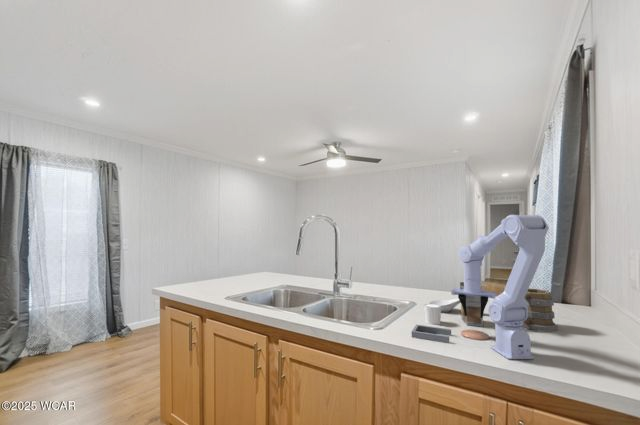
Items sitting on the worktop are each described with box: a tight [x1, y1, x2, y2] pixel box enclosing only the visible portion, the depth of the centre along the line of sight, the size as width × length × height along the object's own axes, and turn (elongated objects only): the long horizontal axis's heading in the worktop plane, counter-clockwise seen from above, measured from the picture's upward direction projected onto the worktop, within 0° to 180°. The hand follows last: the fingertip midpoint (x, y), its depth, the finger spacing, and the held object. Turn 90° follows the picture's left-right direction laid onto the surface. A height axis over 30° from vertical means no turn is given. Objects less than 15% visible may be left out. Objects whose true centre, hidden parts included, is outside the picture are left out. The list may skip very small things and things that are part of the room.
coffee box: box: [459, 281, 484, 327], centre depth 123 cm, size 9×6×16 cm
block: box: [466, 306, 481, 323], centre depth 108 cm, size 4×4×4 cm
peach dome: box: [460, 329, 490, 341], centre depth 107 cm, size 9×9×1 cm
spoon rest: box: [428, 298, 485, 316], centre depth 140 cm, size 24×12×7 cm, turn 64°
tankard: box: [522, 287, 559, 332], centre depth 117 cm, size 20×13×15 cm, turn 110°
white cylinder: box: [423, 303, 442, 325], centre depth 124 cm, size 7×7×7 cm
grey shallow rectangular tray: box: [411, 324, 452, 344], centre depth 107 cm, size 12×9×2 cm
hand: (473, 316), depth 108 cm, fingers closed on block, 4 cm apart
